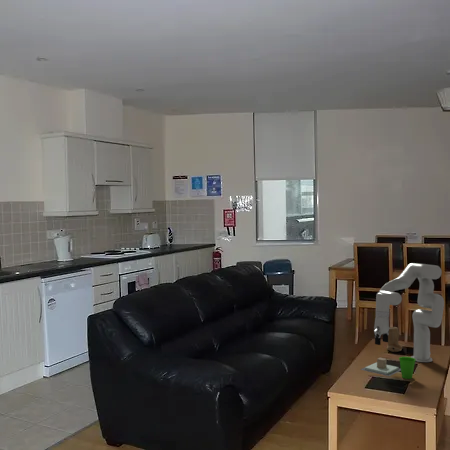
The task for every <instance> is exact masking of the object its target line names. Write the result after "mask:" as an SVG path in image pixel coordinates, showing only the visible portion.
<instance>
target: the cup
mask: <svg viewBox="0 0 450 450" xmlns="http://www.w3.org/2000/svg"><path fill="white" fill-rule="evenodd" d="M398 359H399V363H400V364H399V367H400V369H401V371H400V372H401V377H402V378H403V379H405V380H411V379H413V374H414V371H415V370H414V369H415V364H416V362H417V361H416V359H414V358H411V356H400V357H398Z"/></svg>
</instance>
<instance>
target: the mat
mask: <svg viewBox="0 0 450 450" xmlns="http://www.w3.org/2000/svg"><path fill="white" fill-rule="evenodd" d="M372 364H373V363H372ZM372 364H370V365H372ZM360 371H365V372H370V373H373V374H379V375H382V376H386V377H391V376H393V375H395V374H397V373H400V372H401V367H400V368H399V367H398V370H396V371H394V372H392V373H390V374H388V375H387V374H382V373H378V372H374V371H369V370H365V367H363V368H361V369H360Z"/></svg>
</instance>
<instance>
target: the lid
mask: <svg viewBox="0 0 450 450" xmlns="http://www.w3.org/2000/svg"><path fill="white" fill-rule="evenodd" d="M387 362H388V361H387V358H384V357H378V358H376V362H374V363H372V365H371V364H369V365H367V366H365V367H364V368H365V370H369V371H374V372H378V373H382V374H387V375H388V374H390V373H392V372H394V371H396V370H398V368H399V366H395V365H391V364H387Z"/></svg>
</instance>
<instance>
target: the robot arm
mask: <svg viewBox="0 0 450 450" xmlns="http://www.w3.org/2000/svg"><path fill="white" fill-rule="evenodd" d="M442 272H443V271H442V268H441V267H440V266H439V265H435V264H428V263H427V264H426V263H418V262H416V263H415V262H411V263H409V264H407V265H406V266H405V267H404V269H403V270H402V272H401V273H400V274H399V275H398V277H396V278H394V279H391V280H390V281H388V282H386V283H385V284H384V285H383V286H382V287H381V288H380V289H379V290H378V292H377V293H376V295H375V296H376V297H375V298H376V299H375V318H374V326H373V333H374V345H378V346H381V345H382V344H381V343H382V342H384V343H388V335H389V328H390V327H391V326H390V319H389V317H390V306H397V305H400V304H401V303H402V300H403V298H402V295H401V294H400V293H399V292H395V291H399V290H405V289H408V288H410V287H411V285H413V283H414V281H415V280H416V279H417V280H418V282H419V288H418V294H417V305H418V306H419V307H421V308H424V309H421V308H419V309H415V310H414V311H413V312H412V317H411V318H412V323H413V355H411V356H410V357H411V358H414V359H416V361H415V362H417V363H430V362H433V358H432V357H431V354H432V353H431V331H430V328H439V327H440V326H441V324H442V321H443V317H444V316H443V315H444V314H443V313H444V308H445V306H444V305H445V300H444V297H443V296H442V295H440V294H438V293H434V290H435V284H434V281H433V280H437V279H440V277H441V276H442ZM427 309H431V310H427ZM429 327H430V328H429ZM381 336H382V341H381Z"/></svg>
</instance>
